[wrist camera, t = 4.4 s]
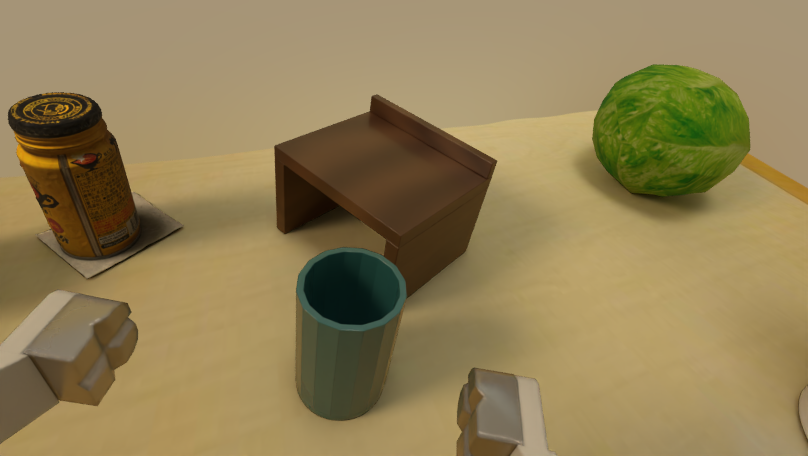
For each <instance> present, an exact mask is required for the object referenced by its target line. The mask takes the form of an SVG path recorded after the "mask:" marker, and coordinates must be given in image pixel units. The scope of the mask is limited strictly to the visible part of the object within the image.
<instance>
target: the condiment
mask: <svg viewBox="0 0 808 456" xmlns="http://www.w3.org/2000/svg"><path fill="white" fill-rule="evenodd" d="M8 120H9V125H10V126H11V128H12V129H13V130H14V133H15V138H16V140H17V142H18V143H19V144H18V147H17V152H16V153H17V156H18V158H19V160H20V166H21V167H23V169H24V171H25V174H26V176H27V179H28V180H29V182H30V184H31V187H32V189H33V191H34V193H35V195H36V199H37V201H38V202H39V205H40V207H41V208H42V210H43V213H44V215H45V217H46V219H47V222H48V224H49V226H50V227H51V229H50V230H47V231H45V232H42V233H40V234H36V236H37V237H38V238H40V239H41V240H42V241H43V242H44V243H45V244H47V245H48V246H49V247H50V248H51V249H52V250H53V251H55V252H56V253H57V254H58V255H59V256H60V257H62V258H63V259H64V260H65V261H67V262H68V263H69V264H70V265H71V266H73V267H74V268H76V269H77V270H78V271H79V272H80V273H81V274H83V275H84V276H85V277H86V278H87V279H88V278H89V277H91V276H93V275H95V274H97V273H99V272H101V271H103V270H105V269H107V268H109V267H111V266H113V265H114V264H115V263H118V262H120V261H122V260H124V259H126V258H128V257H129V256H130V255H133V254H135V253H136V252H138V251H139V250H142V249H143V248H144V247H145V246H147V245H149V244H151V243H153V242H155V241H157V240H159V239H161V238H163V237H165V236H166V235H168V234H169V233H171V232H172V231H174V230H176V229H178V228H180V227H182V226H184V225H182V224H181V223H179V222H177V221H175V220H174V219H172V218H171V217H169V216H168V215H166V214H165V213H163V212H162V211H160V210H159V209H158V208H156V207H154V206H153V205H152V204H150V203H149V202H148V201H146V200H144V199H143V198H142V197H141V196H139V195H138V194H136V193H135V192H131V189H130V186H129V182H128V179H127V176H126V172H125V169H124V165H123V162H122V159H121V155H120V152H119V148H118V145H117V142H116V139H115V138H114V136H113V135H112V134H111V133H110V132H109V131H108V130H107V125H106V123H105V121H104V120H103V119H102V112H101V109H100V107H99V106H98V104H97V103H96V102H95V101H94V100H92V99H91V98H89V97H86V96H83V95H80V94H74V93H64V92H61V93H59V92H58V93H45V94H39V95H35V96H32V97H28V98H26V99H23V100H21V101H19V102H18V103H16V104H14V105H13V106H12V107H11V108H10V110H9V112H8Z"/></svg>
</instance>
